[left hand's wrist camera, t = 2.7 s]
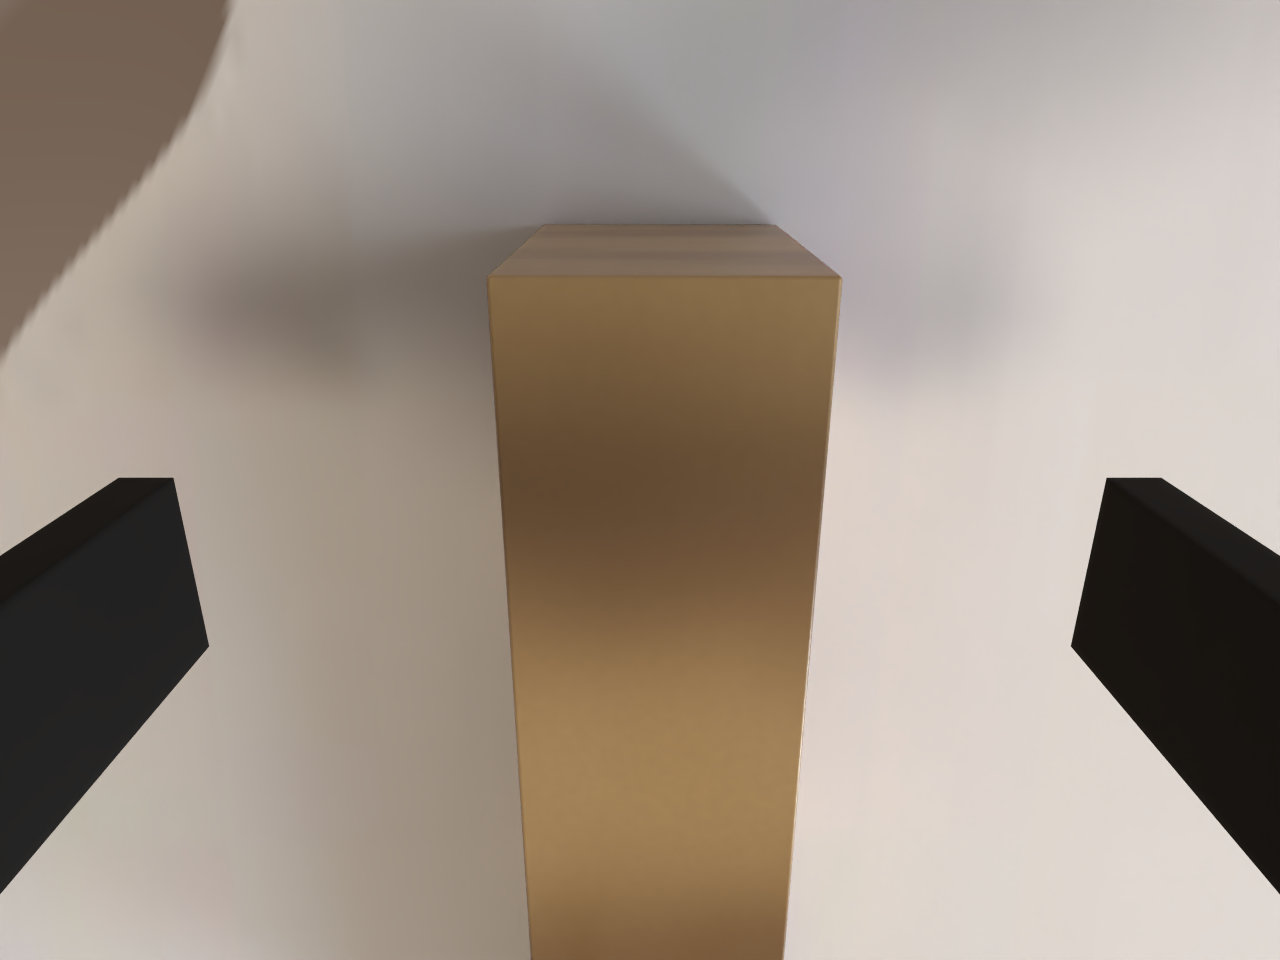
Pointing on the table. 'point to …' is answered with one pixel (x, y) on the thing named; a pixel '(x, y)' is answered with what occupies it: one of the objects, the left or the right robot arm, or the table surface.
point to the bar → (661, 575)
